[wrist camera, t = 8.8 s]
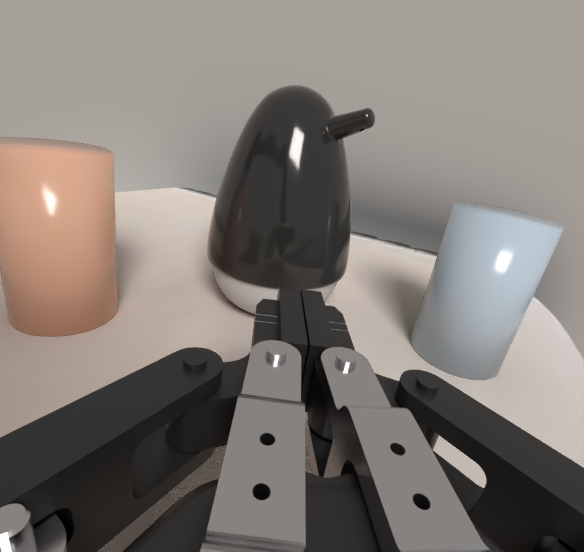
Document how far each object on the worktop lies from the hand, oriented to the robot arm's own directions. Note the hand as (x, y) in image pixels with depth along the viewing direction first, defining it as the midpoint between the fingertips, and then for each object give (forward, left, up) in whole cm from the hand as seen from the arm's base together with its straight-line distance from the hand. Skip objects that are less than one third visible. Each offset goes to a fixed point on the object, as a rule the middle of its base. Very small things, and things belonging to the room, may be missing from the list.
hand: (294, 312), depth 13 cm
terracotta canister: (-16, -4, -7) cm, 18 cm away
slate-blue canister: (+1, +16, -7) cm, 18 cm away
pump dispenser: (-11, +9, -7) cm, 16 cm away
